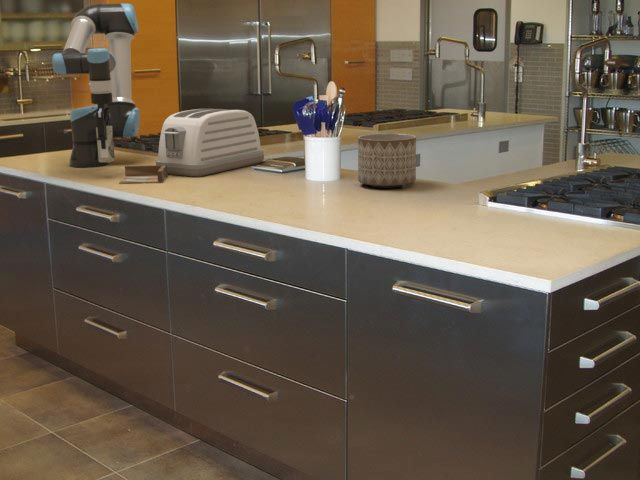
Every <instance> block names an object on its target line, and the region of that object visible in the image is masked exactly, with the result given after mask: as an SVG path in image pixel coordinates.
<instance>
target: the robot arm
mask: <svg viewBox="0 0 640 480" xmlns="http://www.w3.org/2000/svg"><path fill="white" fill-rule="evenodd" d="M138 23H139V22H138V18H137V14H136V10H135V7H134V5H133V4H130V3H122V2H121V3H95V4H90V5H87V6H85V7H84V8H82V9H80V10H79V11H78V12H77V13H76V14H75V15H74V17H72V20H71V22H70V29H71V30H70V33H69V35H68V38H67V40H66V43H65V45H64V48H63V50H62V52H57V53H54V54H53V55H52V59H51V61H52V62H51V64H52V69H53V71H54V73H55V74H57V75H65V76H66V75H81V74H83V75H84V74H85V75H87V74H88V76H89V77H88V79H89V83H87V84H88V87H89V89H90V92H91V94H90V103H91V104H92V105H88V106H83V107H78V108H74V109H72V110H71V111H70V127H71V128H70V129H71V137H72V149H71V153H70V159H69V166H70V167H74V168H94V167H102V166H106V165H109V163H110V162H99V158H98V146H97V140H100V153H101V158H109V153H108V141H107V140H106V139H107V137H106V126H112V131H113V139H118V138H119V139H120V138H121V139H127V138H134V137H136V136H137V135H138V133H139V130H140V122H141V115H140V114H141V113H140V112H141V111H140V108H138V107H136V103H135V102H134V101H133V100H132V57H131V56H132V53H131V50H132V49H131V43H132V41H133V40H134V39H135V34H138V33H139V25H138ZM97 34H98V35H99V34H102V35H103V34H104V38H105V39H106V40H107V41H108V48H106V47H105V48H104V47H100V48H97V47H96V48H88V49H87V47H88V44H89V41H90V39H91V38H92V37H93V36H94V35H97ZM96 128H97V129H98V138H97V134H96Z"/></svg>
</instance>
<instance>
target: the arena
mask: <svg viewBox="0 0 640 480" xmlns="http://www.w3.org/2000/svg"><path fill="white" fill-rule="evenodd" d="M124 174H125V175H124V177H123V178H122V179H121V180H120V181H119V184H118V185H124V184H125V185H126V184H127V185H130V184H133V185H134V184H135V185H136V184H162V183H163V182H164V181H165V180H166V178H167V177H168V174H167V167H166V165H156V164H154V165H152V164H151V165H150V164H149V165H125V166H124Z"/></svg>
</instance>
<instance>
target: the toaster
mask: <svg viewBox="0 0 640 480" xmlns="http://www.w3.org/2000/svg"><path fill="white" fill-rule="evenodd" d="M260 139H261V138H260V135H259V128H258V127H257V123H256V119H255V117H254V116H253V114H252V113H250V112H249V111H247V110H243V109H227V108H225V109H224V108H216V109H215V108H213V107H212V108H211V107H210V108H197V109H196V108H195V109H190V110H182V111H179V112H176V113H172V114H170V115H169V116H168V117H167V118H166V119H165V120H164V122H163V123H162V127H161V132H160V137H159V142H158V154H157V155H158V157H157V158H158V159H157V160H156V161H155V165H166V167H167V175H172V176H173V175H175V176H181V177H182V176H183V177H192V178H193V177H195V178H197V177H204V176H208V175H214V174H218V173H221V172H227V171H231V170H235V169H236V170H237V169H239V168H245V167H248V166H253V165H256V164H261V163H263V162H264V159H265V154H264V151H263V150H261V140H260ZM260 162H261V163H260Z"/></svg>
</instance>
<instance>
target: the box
mask: <svg viewBox="0 0 640 480" xmlns="http://www.w3.org/2000/svg"><path fill="white" fill-rule="evenodd" d="M96 134H97V138H98V129H97V128H96ZM106 137H107V139H106V140H107V141H108V153H109V158H101V153H100V140H97V146H98V158H99V162H109V163H111V162H113V161H115V160H116V157H115V145H114V138H113V131H112V126H106Z"/></svg>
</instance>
